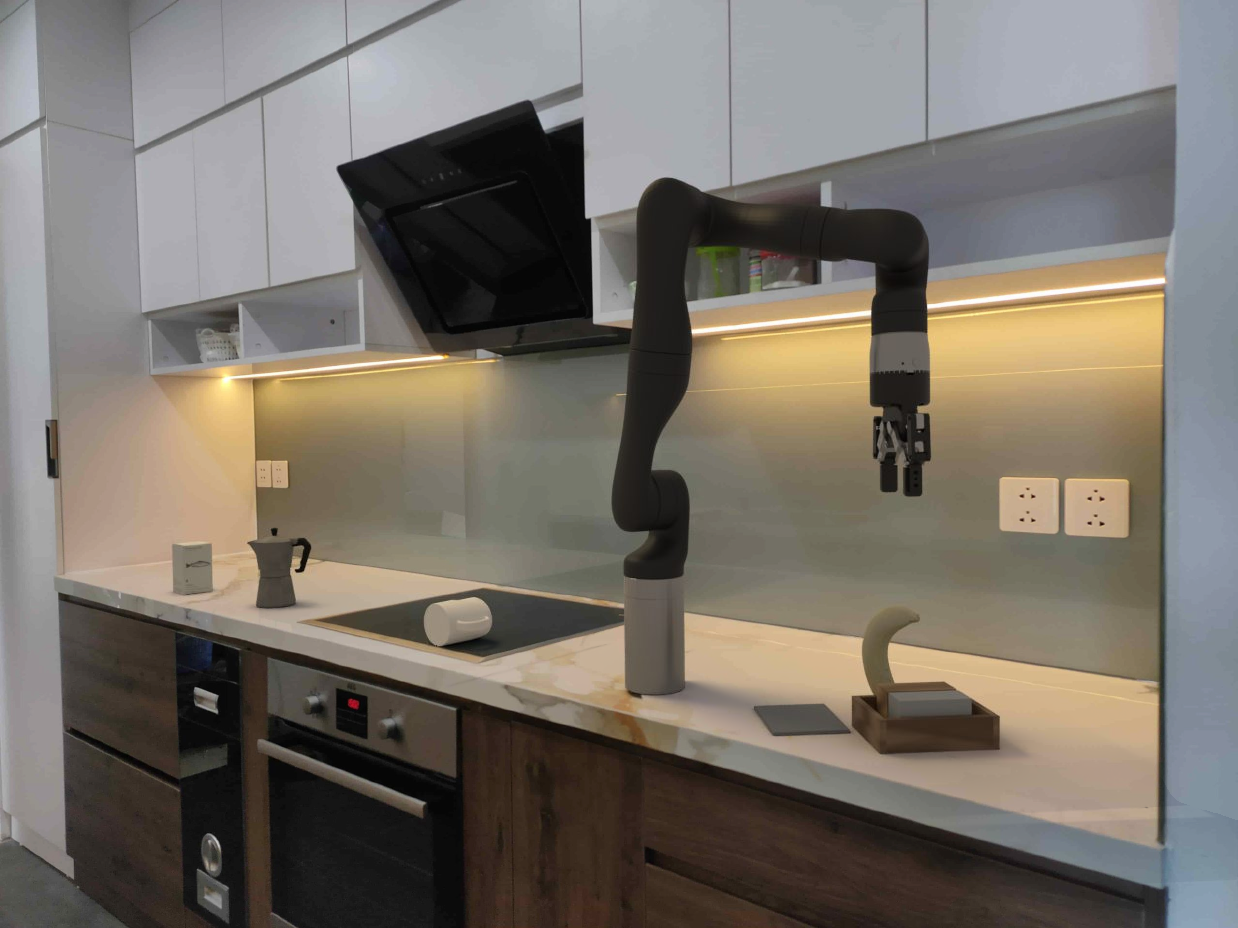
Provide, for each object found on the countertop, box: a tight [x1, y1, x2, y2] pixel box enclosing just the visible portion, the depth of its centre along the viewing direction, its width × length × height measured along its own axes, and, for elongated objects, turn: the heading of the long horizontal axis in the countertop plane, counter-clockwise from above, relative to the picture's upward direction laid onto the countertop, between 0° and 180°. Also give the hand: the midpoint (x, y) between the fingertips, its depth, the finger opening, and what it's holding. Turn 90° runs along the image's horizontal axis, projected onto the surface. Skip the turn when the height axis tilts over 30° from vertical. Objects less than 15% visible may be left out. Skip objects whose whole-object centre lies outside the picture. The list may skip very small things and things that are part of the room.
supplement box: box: [171, 540, 214, 596], centre depth 222 cm, size 7×7×13 cm
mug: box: [423, 596, 493, 647], centre depth 164 cm, size 12×9×8 cm
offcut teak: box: [877, 681, 958, 718], centre depth 111 cm, size 4×9×6 cm, turn 94°
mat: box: [753, 702, 851, 737], centre depth 116 cm, size 11×10×1 cm
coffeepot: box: [246, 527, 312, 609], centre depth 204 cm, size 15×9×18 cm, turn 85°
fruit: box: [861, 604, 921, 695], centre depth 119 cm, size 7×15×3 cm
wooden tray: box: [851, 692, 1001, 755], centre depth 109 cm, size 10×15×4 cm
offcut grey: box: [888, 689, 973, 718], centre depth 107 cm, size 4×9×6 cm, turn 94°
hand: (900, 494), depth 114 cm, fingers open, 8 cm apart
